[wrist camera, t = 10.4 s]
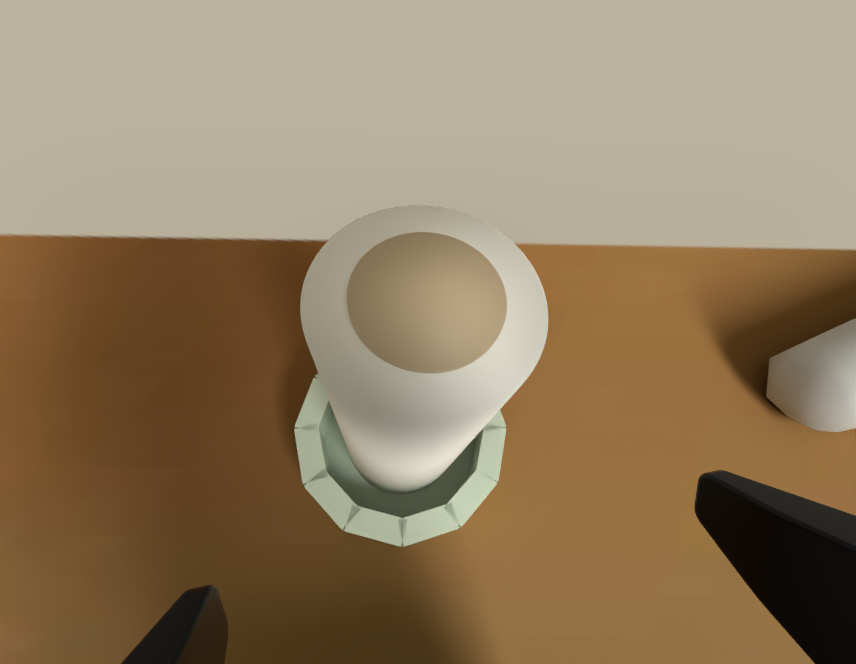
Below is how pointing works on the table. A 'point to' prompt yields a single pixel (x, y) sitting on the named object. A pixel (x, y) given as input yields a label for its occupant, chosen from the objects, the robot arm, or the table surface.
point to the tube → (817, 380)
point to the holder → (384, 512)
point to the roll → (419, 336)
